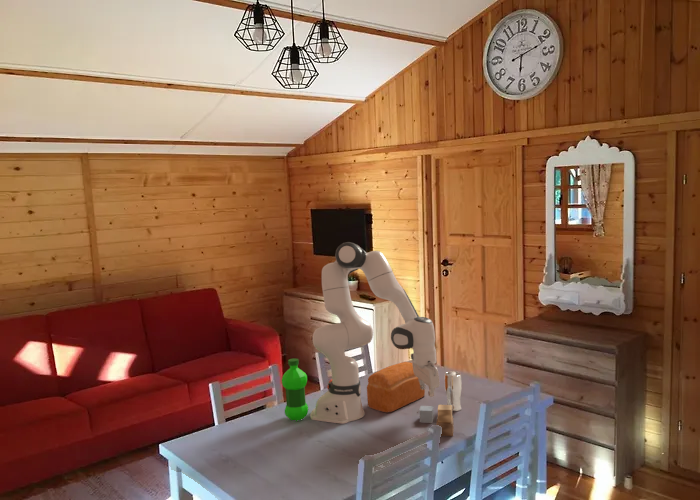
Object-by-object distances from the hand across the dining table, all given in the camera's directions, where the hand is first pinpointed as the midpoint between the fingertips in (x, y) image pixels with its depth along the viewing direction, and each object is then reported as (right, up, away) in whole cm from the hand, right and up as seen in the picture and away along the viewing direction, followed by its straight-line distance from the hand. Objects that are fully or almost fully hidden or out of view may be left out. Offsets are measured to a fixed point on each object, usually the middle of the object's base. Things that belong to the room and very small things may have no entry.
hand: (427, 392), depth 235 cm
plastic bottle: (-52, -13, +10) cm, 55 cm away
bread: (-10, -10, +23) cm, 27 cm away
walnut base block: (+5, -13, -11) cm, 18 cm away
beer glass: (+13, -10, +12) cm, 20 cm away
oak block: (+5, -8, -11) cm, 15 cm away
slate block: (0, -11, +1) cm, 12 cm away
